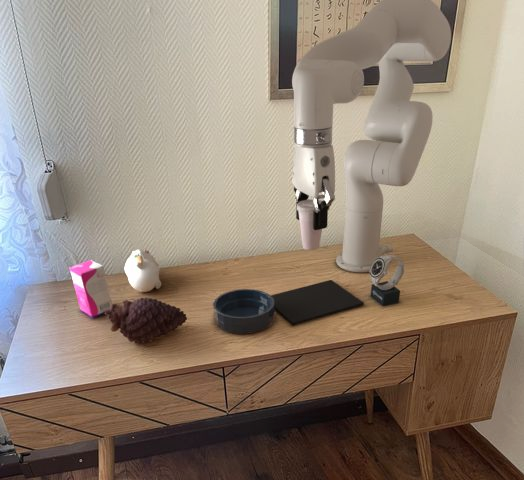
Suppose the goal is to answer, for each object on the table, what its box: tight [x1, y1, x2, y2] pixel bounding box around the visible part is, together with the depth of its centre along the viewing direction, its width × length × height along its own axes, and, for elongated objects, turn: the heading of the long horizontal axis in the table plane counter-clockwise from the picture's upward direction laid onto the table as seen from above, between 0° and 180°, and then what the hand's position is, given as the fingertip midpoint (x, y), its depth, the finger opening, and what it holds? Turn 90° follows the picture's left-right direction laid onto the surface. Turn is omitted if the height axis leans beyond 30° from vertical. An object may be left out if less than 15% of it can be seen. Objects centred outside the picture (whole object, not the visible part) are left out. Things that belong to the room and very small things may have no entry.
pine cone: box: [104, 296, 188, 345], centre depth 112 cm, size 18×10×10 cm
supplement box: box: [69, 259, 113, 319], centre depth 122 cm, size 6×6×12 cm
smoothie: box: [297, 199, 323, 251], centre depth 113 cm, size 6×6×14 cm
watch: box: [368, 253, 405, 307], centre depth 122 cm, size 6×8×11 cm
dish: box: [212, 288, 276, 335], centre depth 118 cm, size 14×14×4 cm
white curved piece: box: [124, 248, 162, 293], centre depth 133 cm, size 10×8×15 cm
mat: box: [270, 279, 364, 327], centre depth 125 cm, size 19×14×1 cm
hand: (311, 222), depth 114 cm, fingers closed on smoothie, 6 cm apart
